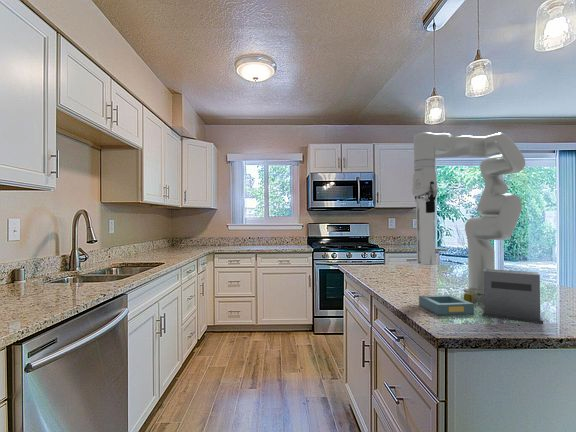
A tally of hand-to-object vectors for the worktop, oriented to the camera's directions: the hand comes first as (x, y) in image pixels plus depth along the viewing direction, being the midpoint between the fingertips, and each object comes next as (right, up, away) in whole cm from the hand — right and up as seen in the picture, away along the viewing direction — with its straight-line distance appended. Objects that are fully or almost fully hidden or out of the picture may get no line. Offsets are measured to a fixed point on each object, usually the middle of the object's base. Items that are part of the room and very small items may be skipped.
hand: (425, 212), depth 121 cm
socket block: (0, -33, -15) cm, 36 cm away
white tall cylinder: (0, -20, 0) cm, 20 cm away
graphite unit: (+17, -33, -22) cm, 43 cm away
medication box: (+16, -34, -3) cm, 37 cm away
